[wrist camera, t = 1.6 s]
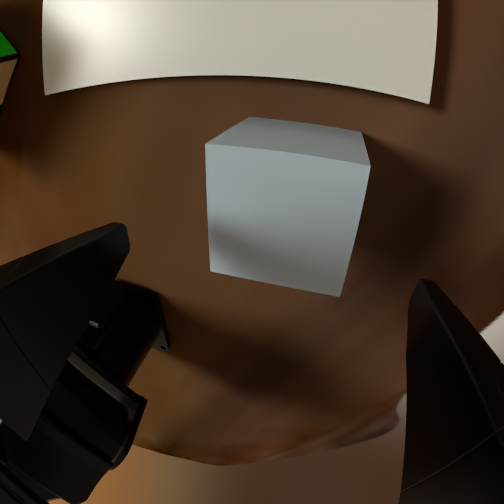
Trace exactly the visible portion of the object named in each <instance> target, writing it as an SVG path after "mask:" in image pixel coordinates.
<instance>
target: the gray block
mask: <svg viewBox="0 0 504 504" xmlns="http://www.w3.org/2000/svg"><path fill="white" fill-rule="evenodd" d="M205 150H206V187H207V213H208V235H209V254H210V271H212V272H217V273H222V274H226V275H231V276H236V277H241V278H246V279H250V280H255V281H260V282H265V283H270V284H275V285H280V286H285V287H290V288H296V289H301V290H306V291H311V292H316V293H322V294H327V295H332V296H338V297H340V294H341V291H342V287H343V284H344V280H345V276H346V273H347V269H348V265H349V261H350V257H351V254H352V250H353V246H354V242H355V237H356V233H357V229H358V225H359V220H360V216H361V212H362V207H363V202H364V198H365V193H366V188H367V183H368V178H369V173H370V167H371V165H370V161H369V158H368V154H367V150H366V147H365V143H364V139H363V136H362V132H358V131H353V130H347V129H342V128H336V127H330V126H323V125H316V124H309V123H302V122H294V121H285V120H276V119H266V118H255V117H248V118H247V119H245V120H243V121H242V122H240V123H238V124H237V125H235V126H233V127H232V128H230V129H228V130H227V131H225V132H223V133H222V134H220V135H219V136H217V137H215V138H214V139H212V140H211V141H209V142H208V143H206V144H205Z"/></svg>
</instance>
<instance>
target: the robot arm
mask: <svg viewBox="0 0 504 504" xmlns="http://www.w3.org/2000/svg"><path fill="white" fill-rule="evenodd" d="M129 251H130V243H129V238H128V233H127V228H126V226H125V225H124V224H122V223H116V222H113V223H110V224H107V225H104V226H101V227H99V228H96V229H93V230H90V231H87V232H85V233H82V234H79V235H76V236H74V237H71V238H68V239H66V240H63V241H61V242H58V243H55V244H53V245H50V246H48V247H45V248H43V249H40V250H38V251H35V252H33V253H30V254H28V255H25V256H24V257H20V258H18V259H16V260H13V261H11V262H8V263H6V264H4V265H1V266H0V504H49V503H48V502H49V501H51V500H56V499H60V498H61V499H63V500H65V501H66V502H68V503H70V504H80V503H82V502H84V501H86V500H87V499H88V497H89V496H90V494H91V492H92V491H93V489H94V487H95V486H96V485H97V483H98V482H99V480H100V479H101V478H102V477H103V476H104V474H105V473H106V472H107V471H108V470H113V469H115V468H116V467H117V466H118V465H119V464H120V463H121V462H122V461H123V460H124V458H125V457H126V455H127V454H128V452H129V450H130V448H131V445H132V443H133V440H134V437H135V435H136V432H137V429H138V426H139V423H140V420H141V418H142V415H143V412H144V409H145V407H146V404H147V401H148V400H147V399H145V398H144V397H143V396H139V395H138V394H136V393H135V392H134V391H132V390H131V389H130V388H128V385H129V383H130V382H131V380H132V378H133V377H134V375H135V373H136V372H137V370H138V368H139V367H140V365H141V364H142V362H143V360H144V359H145V357H146V355H147V354H148V352H149V351H150V349H151V347H153V348H156V349H159V350H162V351H165V352H167V351H169V349H170V342H169V339H168V335H167V331H166V326H165V322H164V318H163V314H162V310H161V305H160V301H159V298H158V296H157V295H156V294H155V293H152V292H149V291H145V290H142V289H138V288H135V287H131V286H128V285H125V284H121V283H118V282H115V281H114V280H115V278H116V276H117V274H118V272H119V270H120V268H121V266H122V264H123V263H124V261H125V259H126V257H127V255H128V253H129ZM406 370H407V413H406V437H405V452H404V464H403V474H402V482H401V490H400V491H401V493H400V497H399V503H398V504H504V365H503V364H502V363H501V361H500V359H499V358H498V357H497V355H496V354H495V353H494V352H493V350H492V349H491V348H490V346H489V345H488V344H487V343H486V341H485V340H484V339H483V338H482V336H481V335H480V334H479V333H478V331H477V330H476V329H475V328H474V327H473V325H472V324H471V323H470V322H469V321H468V319H467V318H466V317H465V316H464V315H463V314H462V312H461V311H460V310H459V309H458V308H457V307H456V305H455V304H454V303H453V302H452V301H451V300H450V299H449V298H448V296H447V295H446V294H445V293H444V292H443V291H442V290H441V289H440V288H439V287H438V285H437V284H436V283H435V282H434V281H431V280H425V279H421V280H419V282H418V284H417V286H416V288H415V290H414V293H413V295H412V297H411V299H410V302H409V307H408V330H407V347H406Z"/></svg>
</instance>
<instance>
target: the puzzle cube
mask: <svg viewBox="0 0 504 504" xmlns="http://www.w3.org/2000/svg"><path fill="white" fill-rule="evenodd" d="M18 58H19V54H18V53H17V52H16V50H15V49H14V48H13V47H12V45H11V44H10V43H9V42H8V40H7V39H6V38H5V37H4V35H3V34H2V33H1V31H0V105H1V104H2V103H3V101H4V98H5V95H6V91H7V88H8V85H9V82H10V79H11V77H12V74H13V71H14V68H15V66H16V63H17V61H18ZM0 111H1V106H0Z"/></svg>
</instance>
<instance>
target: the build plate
mask: <svg viewBox="0 0 504 504" xmlns="http://www.w3.org/2000/svg"><path fill="white" fill-rule="evenodd" d="M437 18H438V0H43V14H42V59H43V77H44V90H45V95H49V94H53V93H58V92H62V91H67V90H72V89H77V88H82V87H87V86H93V85H99V84H106V83H113V82H120V81H128V80H137V79H147V78H159V77H174V76H198V75H239V76H263V77H278V78H290V79H300V80H309V81H317V82H325V83H332V84H339V85H345V86H351V87H357V88H362V89H367V90H372V91H377V92H382V93H387V94H391V95H395V96H400V97H404V98H408V99H412V100H415V101H419V102H423V103H426V104H429V101H430V94H431V87H432V79H433V71H434V62H435V51H436V37H437Z"/></svg>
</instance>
